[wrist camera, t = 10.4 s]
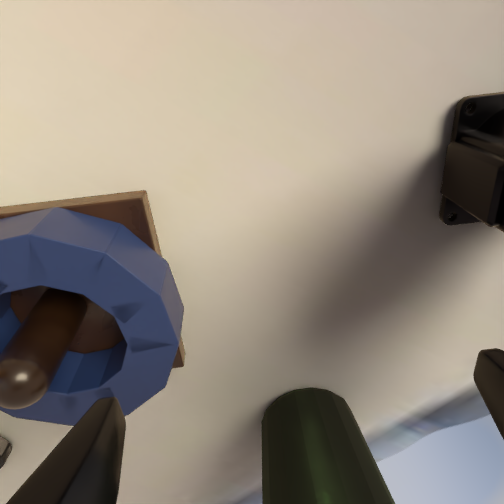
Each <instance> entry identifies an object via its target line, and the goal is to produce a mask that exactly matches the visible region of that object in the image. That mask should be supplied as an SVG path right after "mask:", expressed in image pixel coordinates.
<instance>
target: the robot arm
mask: <svg viewBox="0 0 504 504" xmlns="http://www.w3.org/2000/svg"><path fill="white" fill-rule="evenodd" d="M470 103H471V109H470V110H469V111H468V112H467V113H466V107H467V105H468V104H470ZM441 193H442V194H443V195H442V202H441V208H440V215H439V216H440V220H441V221H442V222H444V223H445V224H447V225H458V224H466V223H475V222H483V223H485V224H486V225H488V226H490V227H493V226H494V227H496V228H497V229H499V230H500V231H502V232H504V92H499V93H490V94H482V95H473V96H467V97H464V98H462V99H461V100H460V101H459V102H458V104H457V106H456V110H455V117H454V123H453V130H452V136H451V143H450V144H449V145H448V147H447V153H446V160H445V167H444V173H443V180H442V187H441ZM450 213H453V215H452V216H451V217H450V218H448V215H449V214H450ZM474 381H475V384H476V386H477V388H478V390H479V392H480V394H481V396H482V398H483V400H484V402H485V404H486V406H487V408H488V410H489V412H490V414H491V416H492V418H493V420H494V422H495V423H496V426H497V428H498V430H499V432H500V434H501V435H502V437H503V439H504V351H503V350H500V349H497V348H494V349H486V350H481V351H480V352H479V354H478V358H477V362H476V365H475V369H474ZM125 430H126V421H125V417H124V414H123V412H122V409H121V407H120V404H119V401H118V399H117V398H116V397H105V398H100V399H98V400H97V401H96V402H95V403H94V404H93V405H92V406H91V407H90V408H89V410H88V411H87V412H86V413H85V414H84V415H83V416H82V418H81V419H80V420H79V421H78V422H77V423H76V424H75V426H74V427H73V428H72V429H71V430H70V431H69V432H68V434H67V435H66V436H65V437H64V438H63V439H62V440H61V442H60V443H59V444H58V445H57V446H56V447H55V448H54V450H53V451H52V452H51V453H50V454H49V455H48V456H47V458H46V459H45V460H44V461H43V462H42V463H41V464H40V466H39V467H38V468H37V469H36V470H35V471H34V472H33V474H32V475H31V476H30V477H29V478H28V479H27V480H26V482H25V483H24V484H23V485H22V486H21V487H20V488H19V490H18V491H17V492H16V493H15V494H14V495H13V496H12V498H11V499H10V500H9V501H8V502H7V503H6V504H116V501H117V496H118V490H119V483H120V474H121V465H122V456H123V448H124V439H125Z"/></svg>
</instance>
